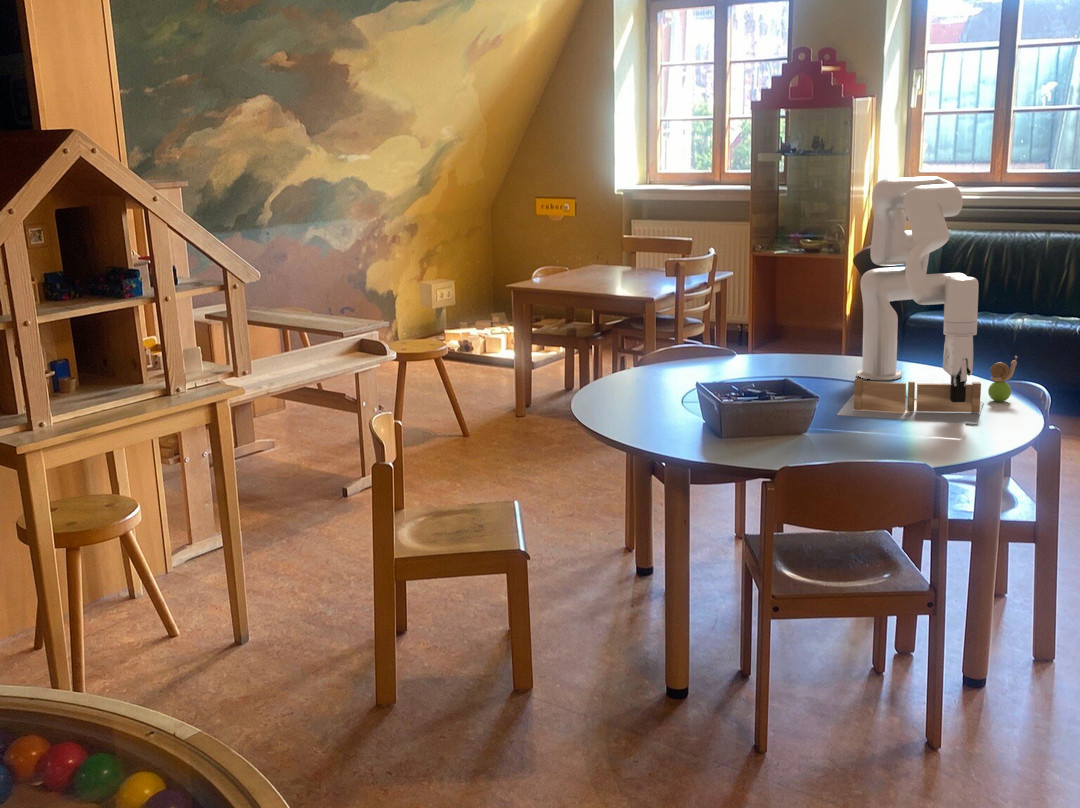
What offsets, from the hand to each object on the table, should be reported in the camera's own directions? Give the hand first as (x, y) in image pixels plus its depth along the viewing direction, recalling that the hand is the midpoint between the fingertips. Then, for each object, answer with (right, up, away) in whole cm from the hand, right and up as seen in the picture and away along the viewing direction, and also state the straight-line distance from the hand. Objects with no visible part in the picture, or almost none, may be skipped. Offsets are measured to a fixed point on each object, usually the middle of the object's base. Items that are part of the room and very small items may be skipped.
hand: (957, 401), depth 254 cm
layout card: (-8, -2, +11) cm, 13 cm away
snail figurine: (+17, 0, +13) cm, 21 cm away
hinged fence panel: (-2, -2, +5) cm, 6 cm away
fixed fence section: (-16, -2, +10) cm, 19 cm away
